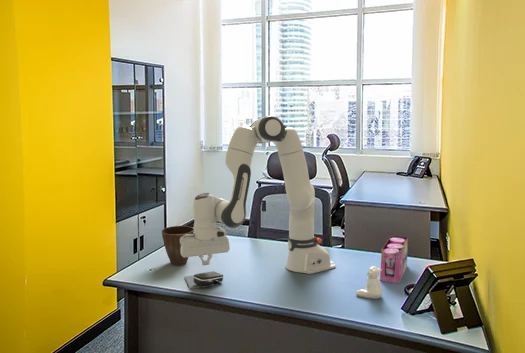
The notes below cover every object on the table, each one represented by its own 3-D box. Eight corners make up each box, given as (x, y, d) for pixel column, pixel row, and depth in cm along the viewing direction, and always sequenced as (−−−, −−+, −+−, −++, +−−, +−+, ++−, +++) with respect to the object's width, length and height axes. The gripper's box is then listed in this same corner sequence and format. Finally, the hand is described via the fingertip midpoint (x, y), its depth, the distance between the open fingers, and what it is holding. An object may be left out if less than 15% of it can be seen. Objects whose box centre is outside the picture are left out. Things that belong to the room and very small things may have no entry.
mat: (207, 274, 190) (207, 273, 190) (214, 285, 178) (214, 284, 178) (184, 277, 187) (184, 276, 187) (190, 289, 175) (190, 287, 175)
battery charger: (212, 279, 186) (191, 283, 177) (213, 270, 186) (192, 274, 177) (223, 283, 181) (201, 288, 173) (224, 274, 181) (202, 278, 173)
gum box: (398, 285, 176) (399, 252, 174) (378, 282, 180) (379, 250, 178) (407, 266, 198) (408, 237, 196) (389, 263, 201) (390, 235, 199)
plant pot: (198, 257, 213) (197, 225, 210) (190, 268, 198) (189, 234, 196) (168, 257, 214) (167, 225, 212) (158, 267, 199) (156, 234, 197)
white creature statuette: (371, 289, 173) (371, 260, 171) (389, 296, 166) (390, 266, 164) (355, 295, 167) (355, 265, 165) (372, 303, 160) (373, 271, 158)
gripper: (180, 237, 174) (182, 270, 176) (230, 231, 180) (231, 263, 183) (178, 233, 180) (179, 265, 182) (226, 228, 186) (227, 259, 188)
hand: (205, 264), depth 182 cm, fingers closed
